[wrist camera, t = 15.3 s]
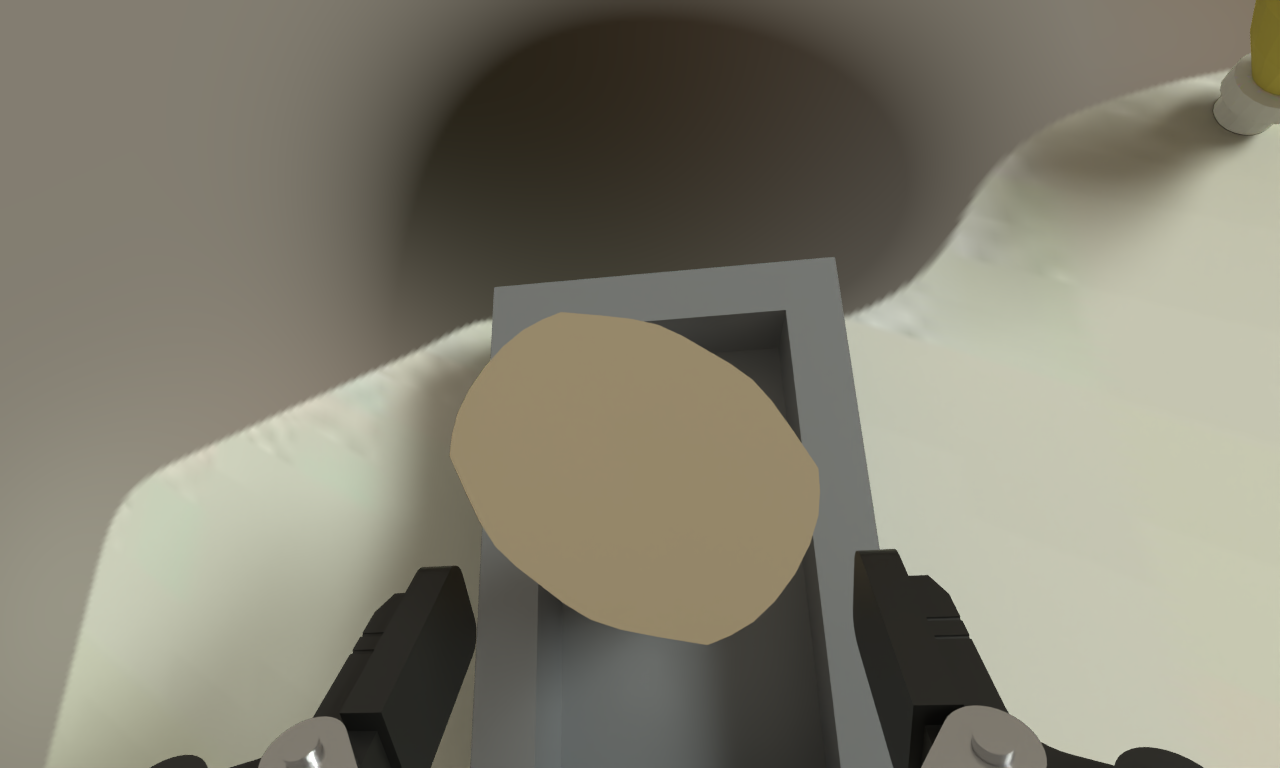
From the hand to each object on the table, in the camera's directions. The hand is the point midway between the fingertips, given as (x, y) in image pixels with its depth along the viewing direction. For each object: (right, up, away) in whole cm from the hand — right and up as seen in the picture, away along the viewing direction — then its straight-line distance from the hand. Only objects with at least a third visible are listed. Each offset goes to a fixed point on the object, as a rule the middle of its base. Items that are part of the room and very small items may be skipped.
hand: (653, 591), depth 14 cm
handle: (+1, -2, +12) cm, 12 cm away
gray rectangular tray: (+1, -2, +13) cm, 13 cm away
